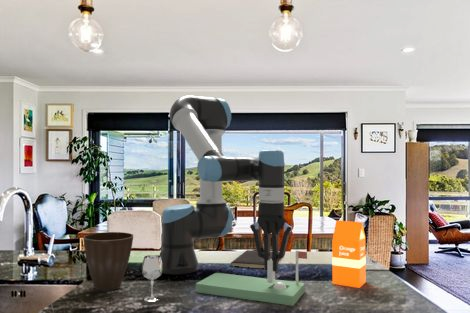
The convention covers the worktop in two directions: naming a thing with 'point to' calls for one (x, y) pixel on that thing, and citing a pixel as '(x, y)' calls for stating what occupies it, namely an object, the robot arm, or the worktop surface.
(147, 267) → the wineglass
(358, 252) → the orange juice
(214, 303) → the worktop surface
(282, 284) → the ball
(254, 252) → the hardcover book
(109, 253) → the plant pot
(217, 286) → the putting deck
